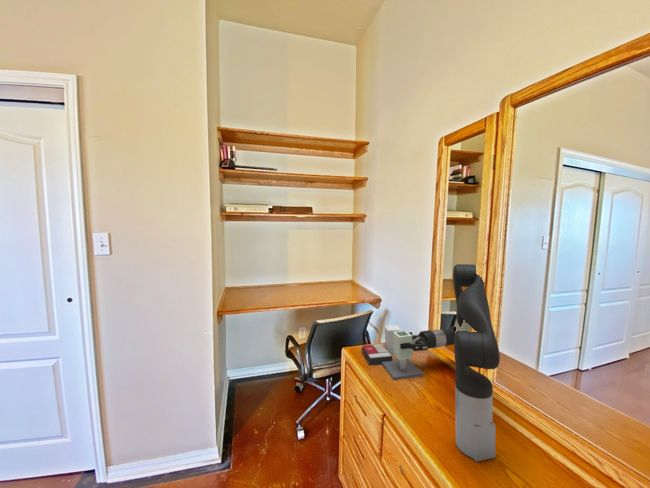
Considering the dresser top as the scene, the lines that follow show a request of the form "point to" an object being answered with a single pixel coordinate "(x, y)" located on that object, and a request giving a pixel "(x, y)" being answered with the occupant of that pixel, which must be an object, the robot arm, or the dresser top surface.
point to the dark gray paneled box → (376, 354)
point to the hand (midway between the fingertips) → (397, 343)
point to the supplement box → (390, 337)
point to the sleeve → (401, 338)
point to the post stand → (401, 369)
